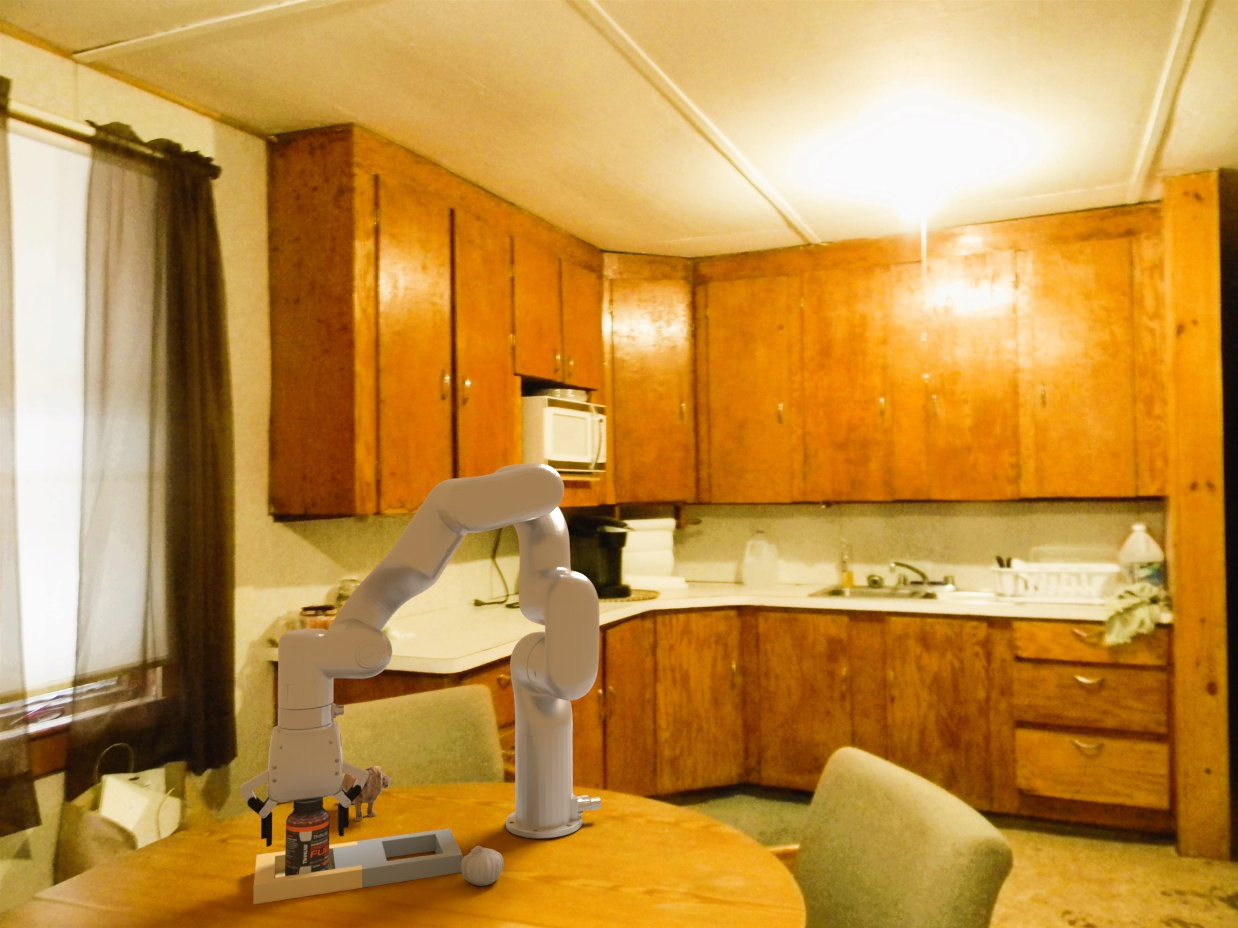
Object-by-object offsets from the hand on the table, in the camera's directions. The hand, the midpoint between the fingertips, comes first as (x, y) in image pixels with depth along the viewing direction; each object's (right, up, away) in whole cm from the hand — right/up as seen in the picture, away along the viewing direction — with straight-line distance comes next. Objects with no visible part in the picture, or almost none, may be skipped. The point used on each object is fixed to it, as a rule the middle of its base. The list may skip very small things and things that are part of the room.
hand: (305, 838), depth 125 cm
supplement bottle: (0, -6, 0) cm, 6 cm away
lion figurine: (0, -7, +27) cm, 28 cm away
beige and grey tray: (+7, -6, +2) cm, 9 cm away
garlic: (+25, -6, -2) cm, 26 cm away
